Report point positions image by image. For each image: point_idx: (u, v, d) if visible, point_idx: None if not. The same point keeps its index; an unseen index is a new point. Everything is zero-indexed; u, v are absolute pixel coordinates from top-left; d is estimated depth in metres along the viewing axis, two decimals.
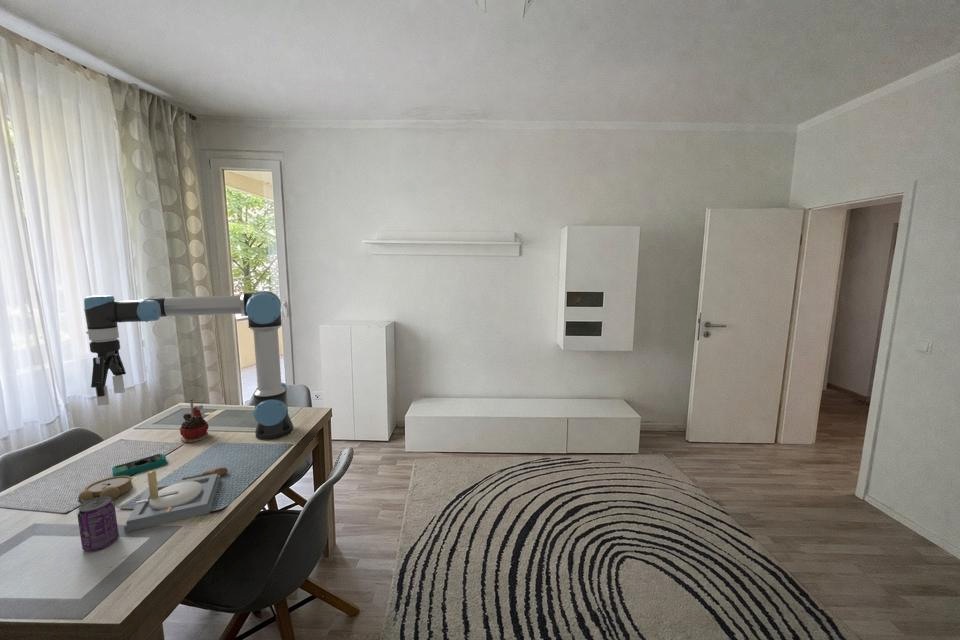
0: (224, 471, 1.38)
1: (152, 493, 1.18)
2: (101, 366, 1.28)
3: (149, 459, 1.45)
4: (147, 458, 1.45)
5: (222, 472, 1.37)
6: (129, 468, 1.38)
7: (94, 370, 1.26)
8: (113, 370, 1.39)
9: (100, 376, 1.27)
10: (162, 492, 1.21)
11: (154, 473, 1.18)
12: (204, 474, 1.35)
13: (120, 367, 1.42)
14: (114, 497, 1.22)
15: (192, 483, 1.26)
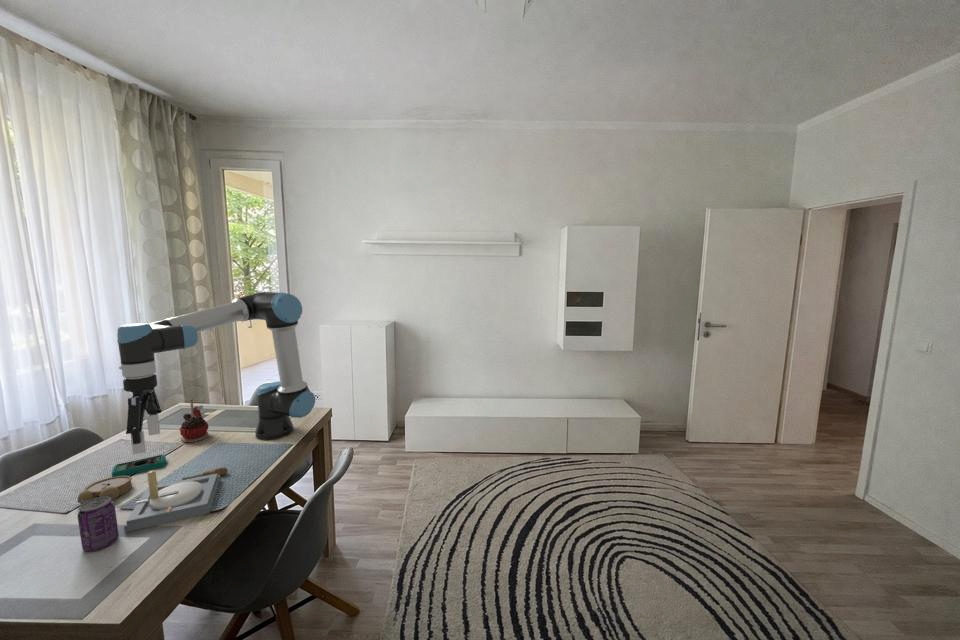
0: (224, 471, 1.38)
1: (152, 493, 1.18)
2: (137, 408, 1.08)
3: (149, 460, 1.44)
4: (149, 458, 1.45)
5: (222, 472, 1.37)
6: (127, 468, 1.38)
7: (129, 413, 1.07)
8: (148, 409, 1.20)
9: (136, 420, 1.07)
10: (162, 492, 1.21)
11: (154, 473, 1.18)
12: (204, 474, 1.35)
13: (155, 405, 1.22)
14: (114, 497, 1.22)
15: (192, 483, 1.26)
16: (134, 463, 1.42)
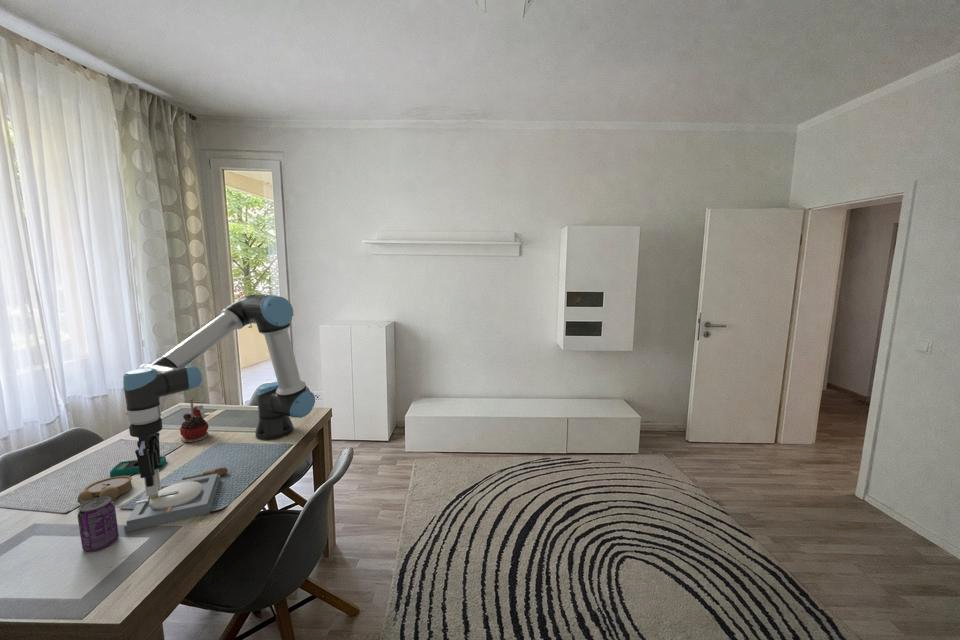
0: (224, 471, 1.38)
1: None
2: (146, 458, 1.12)
3: None
4: None
5: (222, 472, 1.37)
6: (125, 468, 1.38)
7: (140, 462, 1.12)
8: None
9: (148, 468, 1.13)
10: (162, 492, 1.21)
11: None
12: (204, 474, 1.35)
13: None
14: (114, 497, 1.22)
15: (192, 483, 1.26)
16: (135, 463, 1.42)
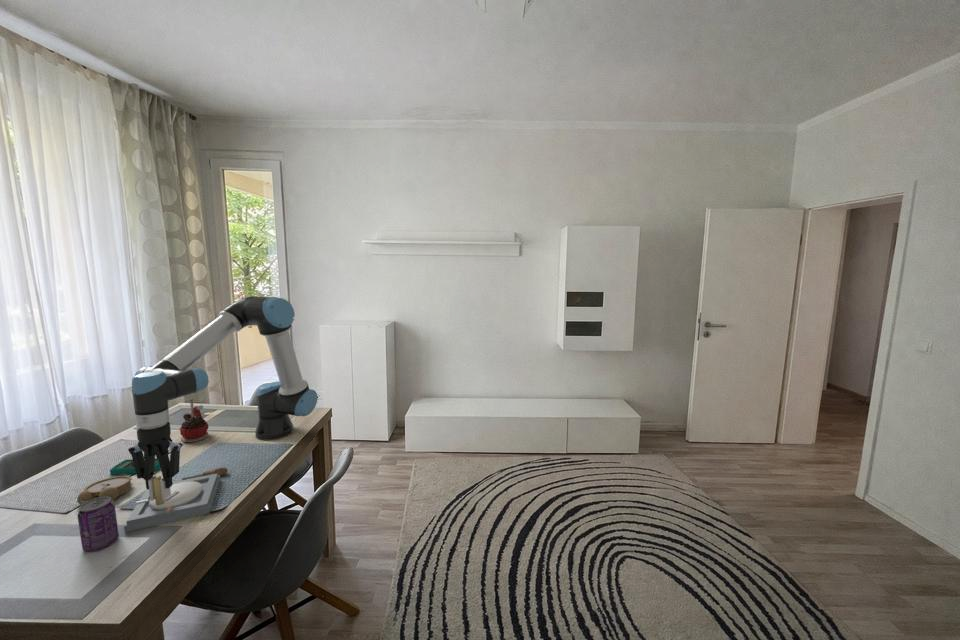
0: (224, 471, 1.38)
1: None
2: (179, 453, 1.16)
3: None
4: None
5: (222, 472, 1.37)
6: (124, 467, 1.39)
7: (175, 459, 1.14)
8: (150, 468, 1.14)
9: (178, 463, 1.16)
10: None
11: (161, 477, 1.15)
12: (204, 474, 1.35)
13: (144, 467, 1.14)
14: (113, 497, 1.22)
15: (174, 485, 1.25)
16: None
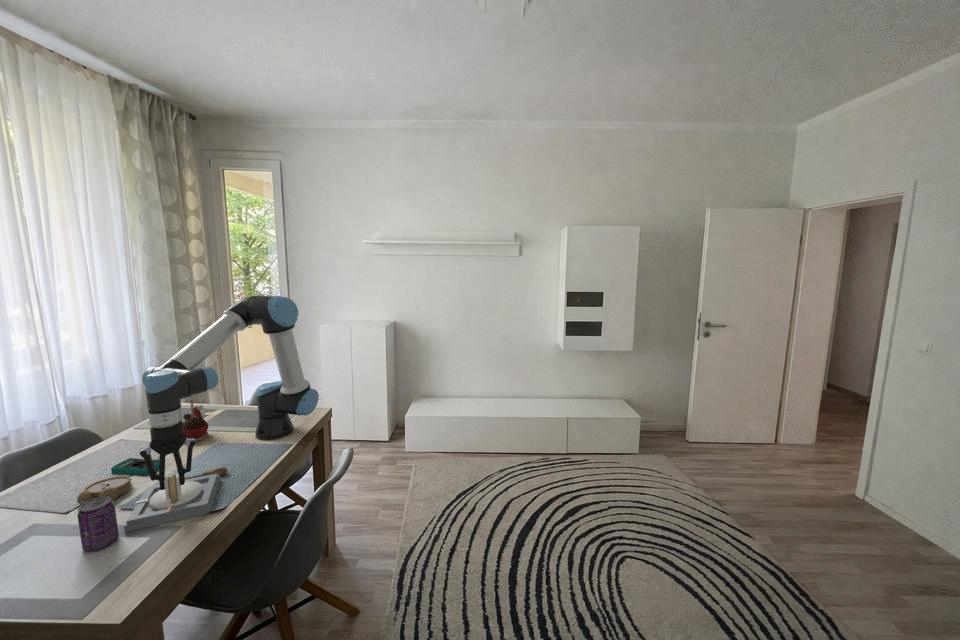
0: (224, 471, 1.38)
1: None
2: None
3: None
4: None
5: (222, 472, 1.37)
6: (123, 466, 1.39)
7: None
8: (164, 468, 1.14)
9: None
10: (166, 501, 1.17)
11: None
12: (204, 474, 1.35)
13: None
14: (113, 498, 1.22)
15: (160, 491, 1.22)
16: (136, 462, 1.42)
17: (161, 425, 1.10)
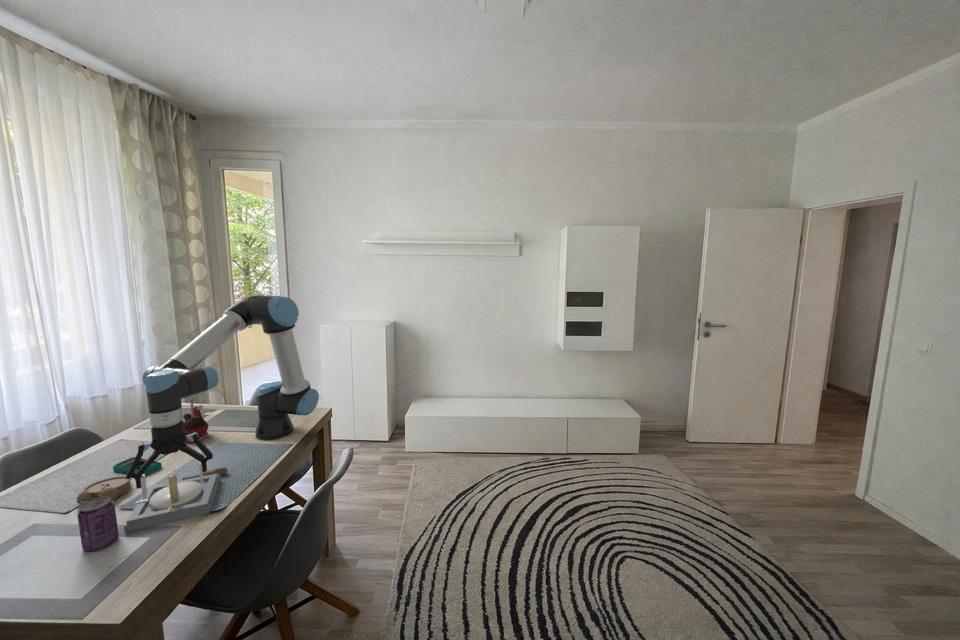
0: (224, 471, 1.38)
1: (178, 495, 1.17)
2: None
3: None
4: None
5: (222, 472, 1.37)
6: (124, 465, 1.40)
7: (202, 444, 1.19)
8: None
9: None
10: (166, 501, 1.17)
11: None
12: (204, 474, 1.35)
13: None
14: (113, 498, 1.22)
15: (160, 491, 1.22)
16: None
17: (162, 425, 1.10)
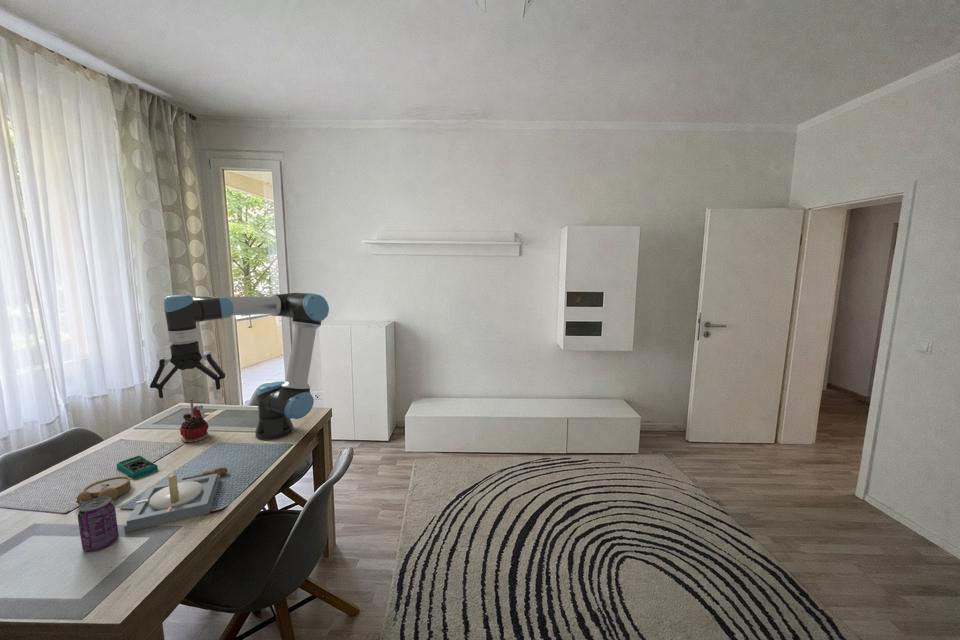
0: (224, 471, 1.38)
1: (178, 495, 1.17)
2: None
3: (142, 465, 1.40)
4: (147, 463, 1.42)
5: (222, 472, 1.37)
6: (125, 464, 1.41)
7: (215, 364, 1.31)
8: None
9: (220, 368, 1.33)
10: (166, 501, 1.17)
11: None
12: (204, 474, 1.35)
13: (158, 379, 1.25)
14: (112, 498, 1.22)
15: (160, 491, 1.22)
16: (138, 462, 1.43)
17: (178, 341, 1.23)
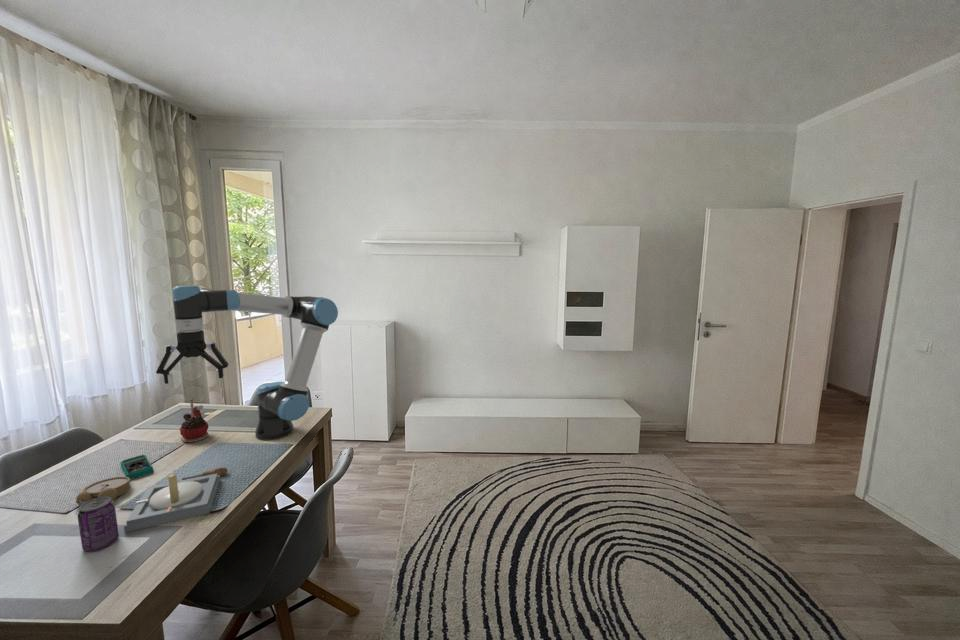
0: (224, 471, 1.38)
1: (178, 495, 1.17)
2: (218, 350, 1.37)
3: (140, 466, 1.40)
4: (145, 464, 1.41)
5: (222, 472, 1.37)
6: (126, 463, 1.41)
7: (219, 353, 1.36)
8: (173, 367, 1.31)
9: (223, 357, 1.38)
10: (166, 501, 1.17)
11: None
12: (204, 474, 1.35)
13: (164, 366, 1.31)
14: (112, 498, 1.22)
15: (160, 491, 1.22)
16: (138, 462, 1.43)
17: (184, 330, 1.28)
